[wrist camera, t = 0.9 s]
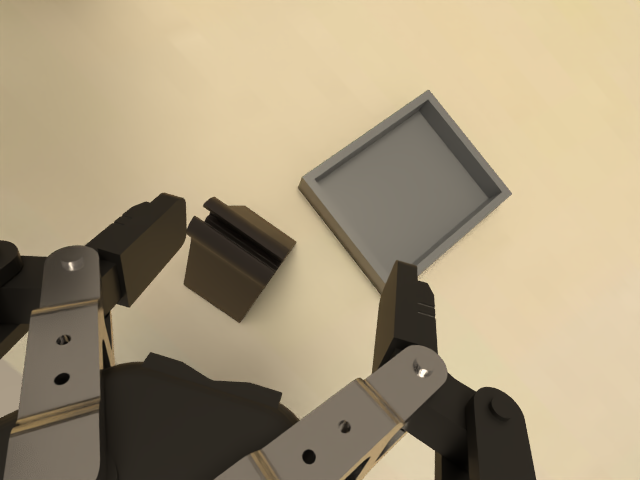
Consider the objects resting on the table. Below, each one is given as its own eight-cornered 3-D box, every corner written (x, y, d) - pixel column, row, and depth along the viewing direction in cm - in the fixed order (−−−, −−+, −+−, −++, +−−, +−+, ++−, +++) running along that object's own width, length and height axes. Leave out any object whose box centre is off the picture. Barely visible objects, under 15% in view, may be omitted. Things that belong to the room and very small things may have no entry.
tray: (297, 187, 37) (302, 176, 34) (416, 105, 41) (428, 89, 38) (383, 297, 36) (394, 295, 33) (493, 202, 40) (512, 193, 38)
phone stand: (239, 323, 33) (234, 329, 22) (183, 284, 33) (148, 269, 21) (296, 243, 36) (319, 210, 24) (245, 206, 35) (243, 155, 24)
